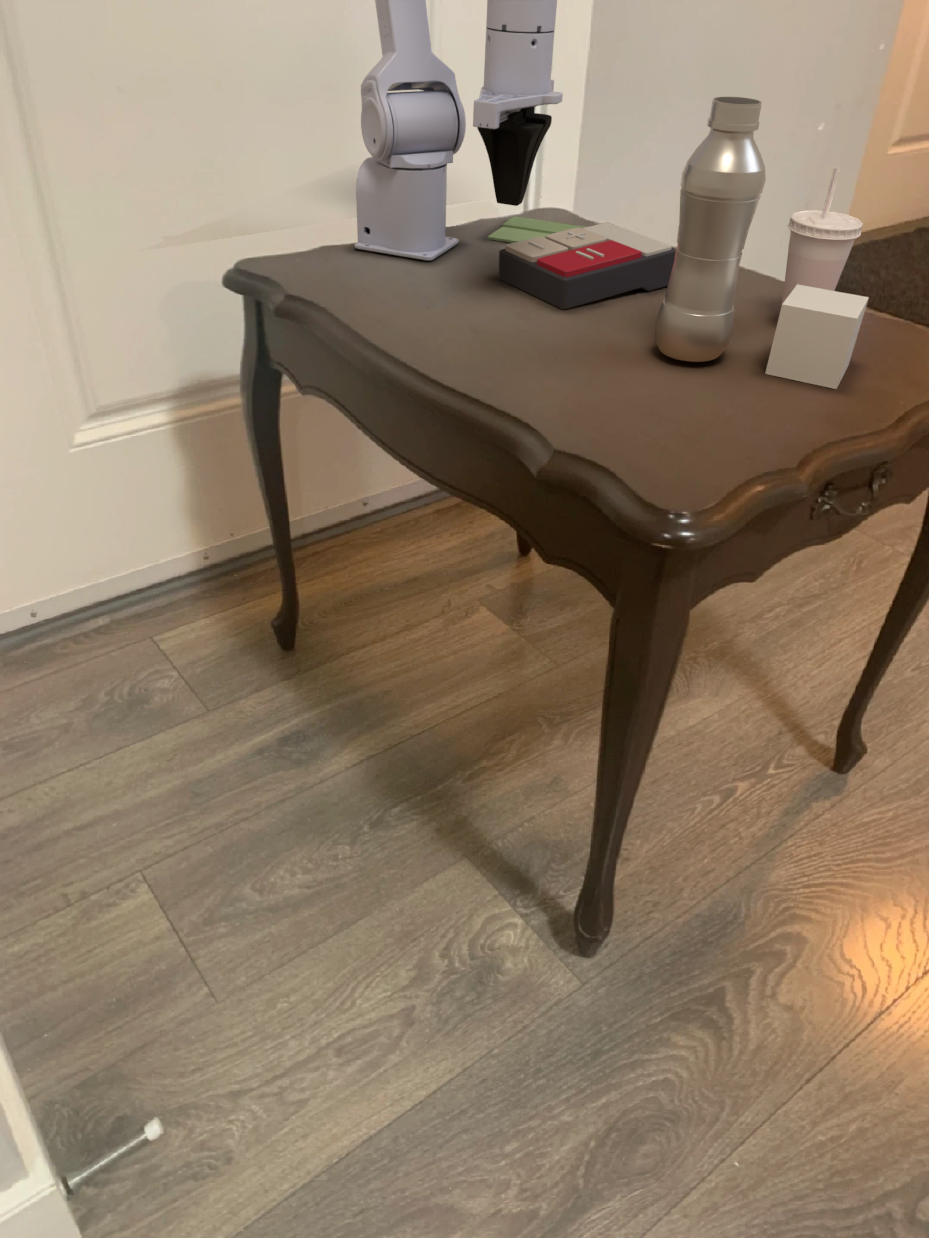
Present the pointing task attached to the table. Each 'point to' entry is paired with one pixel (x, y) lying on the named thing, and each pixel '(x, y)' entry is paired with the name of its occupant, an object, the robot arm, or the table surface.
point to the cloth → (527, 229)
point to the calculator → (586, 264)
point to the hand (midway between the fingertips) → (509, 203)
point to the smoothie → (819, 245)
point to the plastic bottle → (712, 233)
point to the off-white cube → (816, 335)
